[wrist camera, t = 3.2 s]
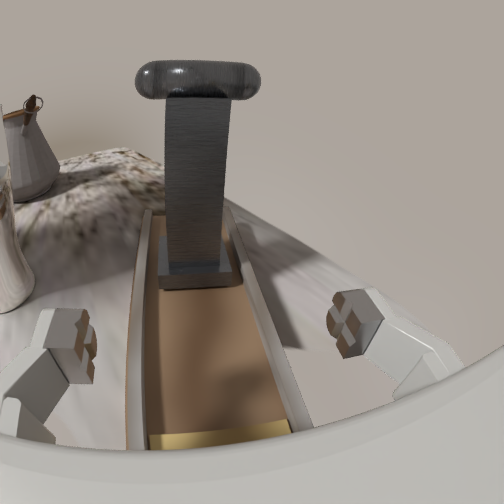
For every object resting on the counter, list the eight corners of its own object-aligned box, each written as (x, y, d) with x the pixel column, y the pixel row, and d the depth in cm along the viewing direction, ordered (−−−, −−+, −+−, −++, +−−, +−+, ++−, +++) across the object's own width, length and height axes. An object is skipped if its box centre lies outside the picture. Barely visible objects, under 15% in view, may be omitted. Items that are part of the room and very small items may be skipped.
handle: (142, 290, 19) (129, 60, 11) (150, 211, 29) (150, 65, 21) (248, 284, 21) (275, 64, 13) (222, 208, 31) (234, 66, 23)
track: (136, 483, 10) (122, 472, 9) (143, 229, 29) (142, 207, 28) (313, 460, 12) (328, 445, 11) (230, 226, 32) (231, 204, 30)
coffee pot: (-4, 193, 35) (-15, 107, 26) (53, 173, 42) (47, 89, 34) (7, 248, 24) (-19, 110, 16) (93, 212, 31) (84, 84, 23)
